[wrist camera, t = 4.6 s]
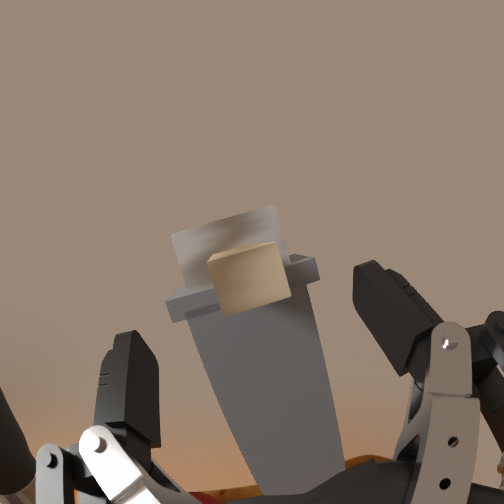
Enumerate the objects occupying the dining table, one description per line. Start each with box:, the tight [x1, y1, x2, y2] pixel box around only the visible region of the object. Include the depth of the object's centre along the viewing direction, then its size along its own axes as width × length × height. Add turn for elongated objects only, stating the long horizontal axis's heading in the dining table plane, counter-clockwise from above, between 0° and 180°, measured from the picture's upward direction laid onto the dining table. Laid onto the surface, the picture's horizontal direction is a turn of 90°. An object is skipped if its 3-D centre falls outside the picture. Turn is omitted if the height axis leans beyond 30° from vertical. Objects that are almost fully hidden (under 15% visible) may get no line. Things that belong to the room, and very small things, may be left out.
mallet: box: [171, 205, 291, 317], centre depth 16 cm, size 7×14×4 cm, turn 7°
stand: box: [166, 254, 346, 495], centre depth 22 cm, size 10×6×32 cm, turn 95°
